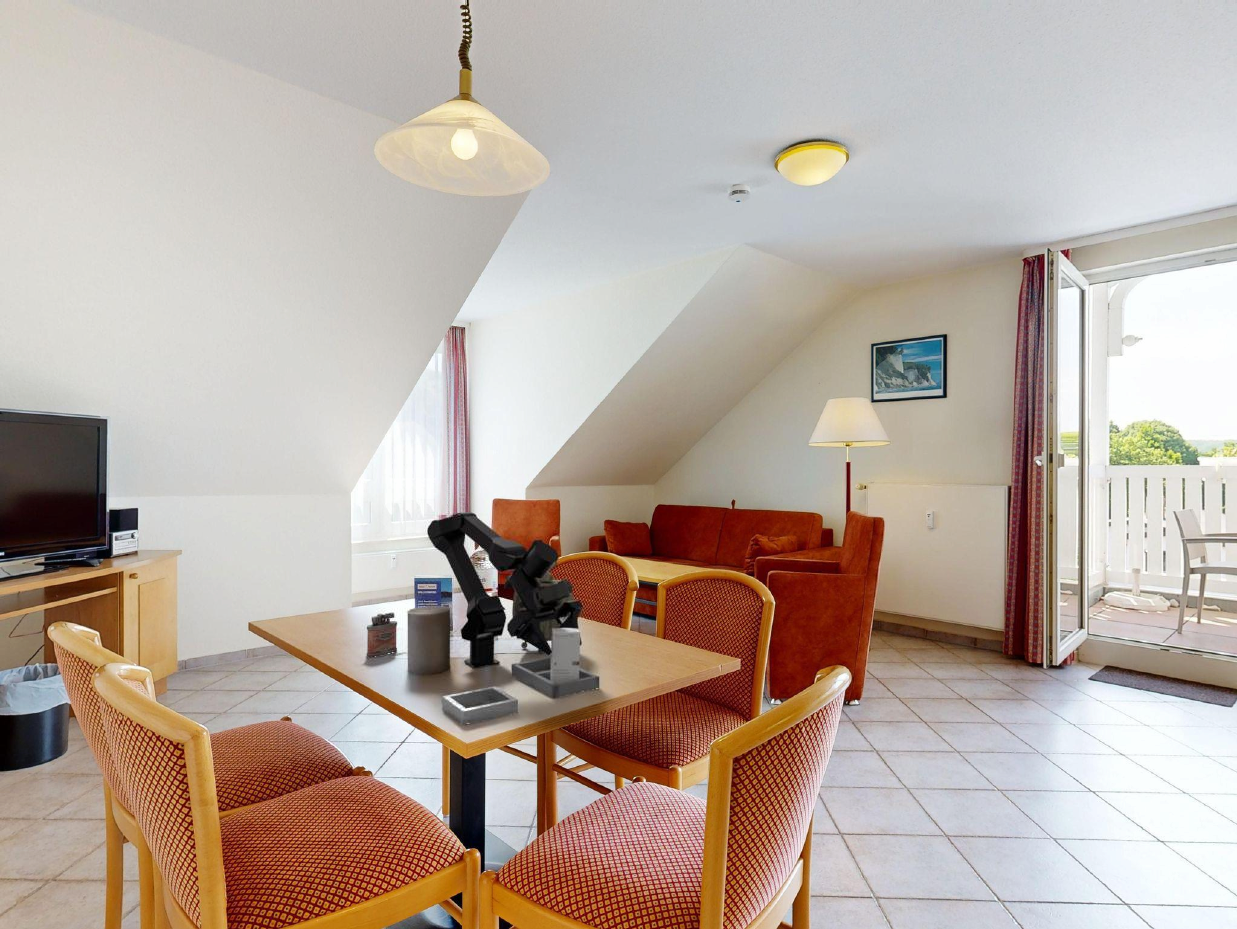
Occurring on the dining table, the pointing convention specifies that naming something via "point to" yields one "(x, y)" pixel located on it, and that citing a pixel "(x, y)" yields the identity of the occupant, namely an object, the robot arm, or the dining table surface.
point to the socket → (480, 713)
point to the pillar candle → (428, 639)
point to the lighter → (381, 635)
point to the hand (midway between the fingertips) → (565, 649)
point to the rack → (550, 688)
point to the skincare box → (565, 654)
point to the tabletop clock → (548, 625)
